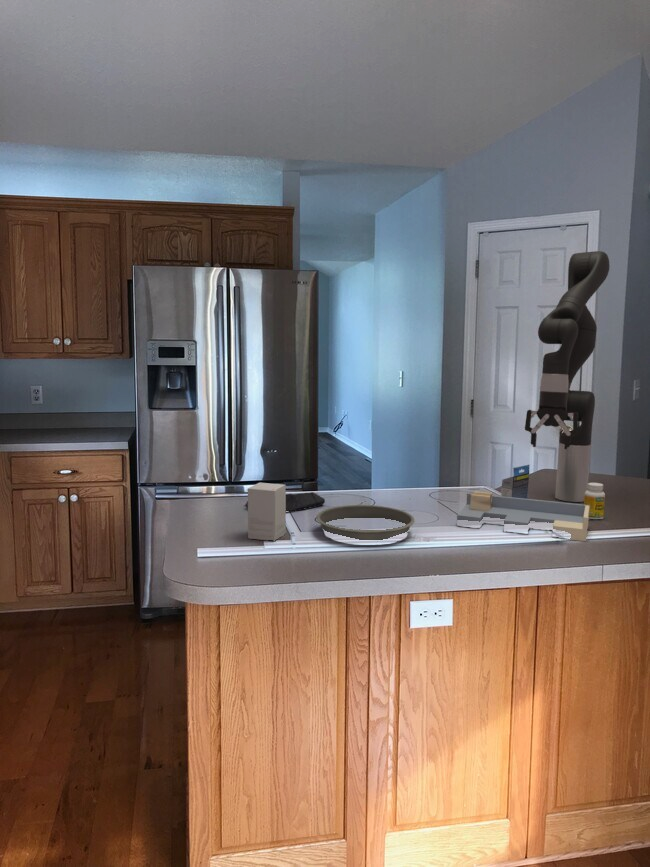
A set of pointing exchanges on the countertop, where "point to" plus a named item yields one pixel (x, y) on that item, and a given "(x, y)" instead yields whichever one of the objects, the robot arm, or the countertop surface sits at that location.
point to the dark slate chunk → (301, 501)
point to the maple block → (481, 501)
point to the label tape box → (516, 483)
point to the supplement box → (266, 511)
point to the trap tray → (534, 514)
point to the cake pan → (365, 512)
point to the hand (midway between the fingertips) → (549, 447)
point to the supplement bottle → (595, 500)
